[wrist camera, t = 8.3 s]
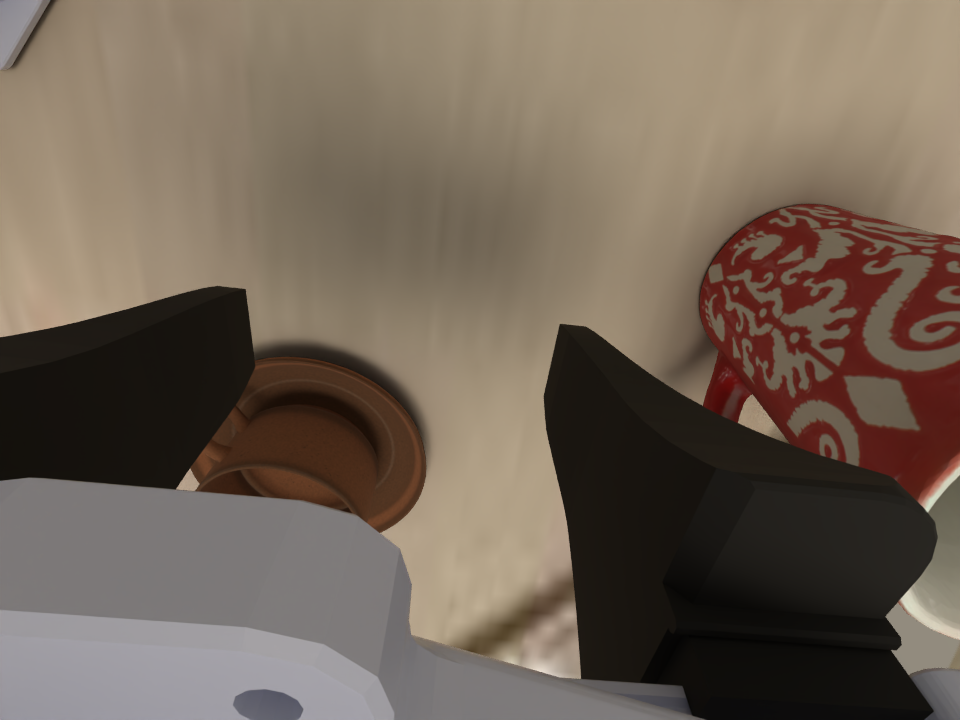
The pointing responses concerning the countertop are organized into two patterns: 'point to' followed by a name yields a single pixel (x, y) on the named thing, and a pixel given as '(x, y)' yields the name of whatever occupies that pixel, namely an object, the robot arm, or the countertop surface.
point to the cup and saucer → (317, 443)
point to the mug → (851, 358)
